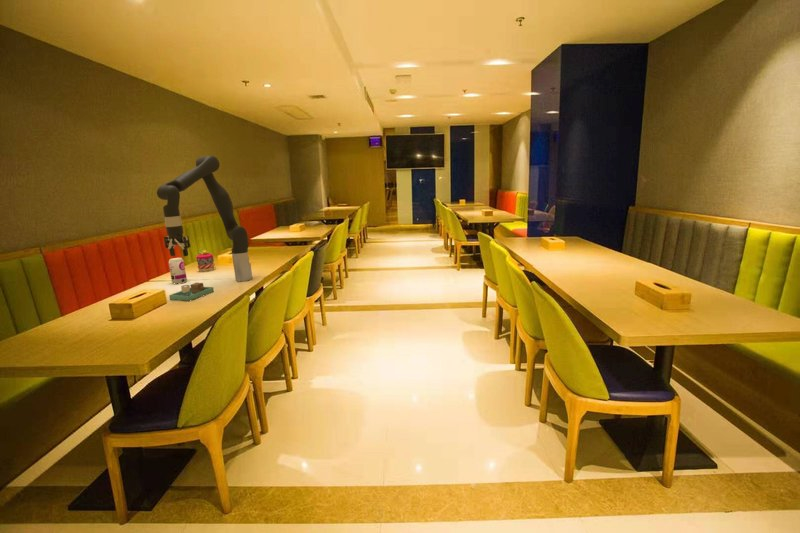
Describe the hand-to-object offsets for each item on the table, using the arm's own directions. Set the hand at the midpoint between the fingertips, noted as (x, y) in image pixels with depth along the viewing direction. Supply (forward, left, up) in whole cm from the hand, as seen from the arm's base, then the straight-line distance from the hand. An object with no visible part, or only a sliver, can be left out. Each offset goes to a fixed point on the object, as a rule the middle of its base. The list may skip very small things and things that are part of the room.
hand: (179, 256), depth 212 cm
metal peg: (0, 0, -22) cm, 22 cm away
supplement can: (-26, -32, -23) cm, 47 cm away
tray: (-4, 0, -23) cm, 23 cm away
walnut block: (-8, 0, -22) cm, 24 cm away
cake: (-56, -39, -23) cm, 72 cm away
